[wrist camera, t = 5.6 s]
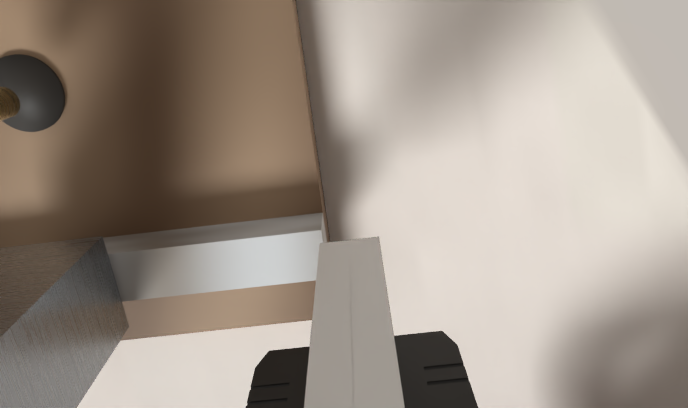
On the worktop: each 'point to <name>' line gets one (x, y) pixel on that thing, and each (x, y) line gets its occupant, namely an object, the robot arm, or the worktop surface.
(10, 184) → the brown wooden board
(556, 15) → the worktop surface
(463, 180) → the worktop surface
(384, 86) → the worktop surface
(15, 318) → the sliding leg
